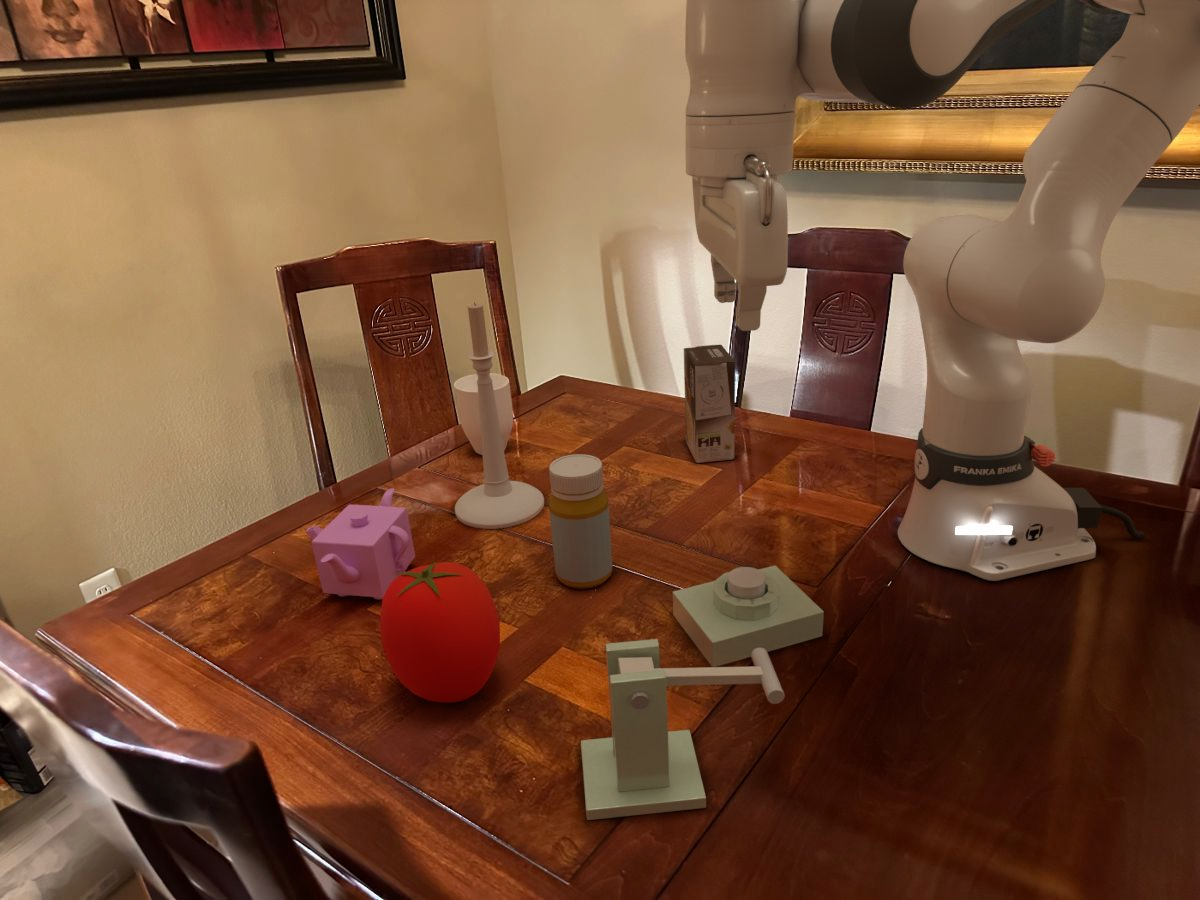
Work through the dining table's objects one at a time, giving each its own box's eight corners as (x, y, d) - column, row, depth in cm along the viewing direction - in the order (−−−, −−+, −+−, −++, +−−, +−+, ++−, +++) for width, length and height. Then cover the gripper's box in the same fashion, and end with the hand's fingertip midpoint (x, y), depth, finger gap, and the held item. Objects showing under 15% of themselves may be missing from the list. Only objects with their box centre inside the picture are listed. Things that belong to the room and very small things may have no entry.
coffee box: (736, 460, 130) (737, 361, 124) (695, 464, 130) (694, 365, 123) (721, 436, 139) (722, 343, 132) (683, 440, 138) (681, 346, 132)
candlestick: (553, 487, 126) (534, 289, 113) (532, 530, 114) (509, 315, 102) (471, 485, 128) (444, 290, 115) (442, 527, 116) (409, 316, 104)
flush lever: (765, 665, 73) (768, 642, 72) (783, 708, 68) (786, 685, 67) (615, 668, 72) (616, 645, 71) (621, 712, 67) (622, 688, 66)
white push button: (753, 576, 93) (753, 563, 92) (772, 595, 89) (772, 581, 88) (721, 585, 92) (720, 571, 91) (738, 604, 88) (738, 590, 87)
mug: (509, 461, 135) (501, 391, 130) (456, 460, 136) (446, 391, 131) (525, 432, 145) (518, 366, 141) (476, 432, 147) (467, 366, 142)
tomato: (366, 689, 86) (340, 572, 80) (451, 634, 94) (433, 523, 88) (446, 743, 79) (425, 618, 73) (531, 678, 86) (518, 560, 80)
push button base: (774, 588, 98) (775, 551, 96) (822, 636, 90) (825, 597, 88) (672, 615, 95) (671, 577, 93) (712, 668, 86) (712, 628, 84)
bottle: (606, 593, 99) (599, 479, 93) (549, 589, 101) (538, 477, 95) (617, 561, 106) (610, 453, 99) (563, 558, 107) (553, 451, 101)
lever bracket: (689, 739, 77) (687, 624, 72) (706, 808, 70) (705, 686, 65) (581, 750, 77) (571, 635, 72) (586, 820, 70) (575, 699, 64)
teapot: (353, 541, 114) (339, 477, 110) (443, 547, 111) (433, 482, 107) (280, 620, 98) (261, 548, 94) (383, 630, 95) (369, 556, 91)
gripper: (813, 160, 60) (803, 345, 66) (749, 140, 79) (745, 285, 85) (726, 165, 60) (724, 351, 66) (682, 143, 79) (683, 289, 84)
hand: (735, 314), depth 75 cm, fingers open, 8 cm apart
